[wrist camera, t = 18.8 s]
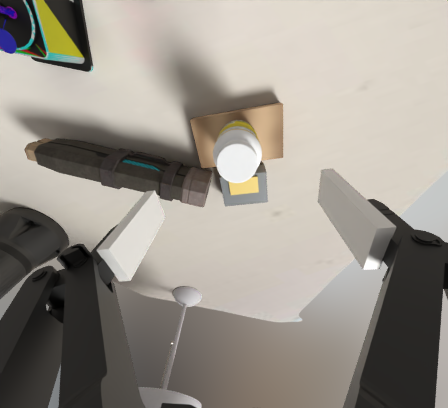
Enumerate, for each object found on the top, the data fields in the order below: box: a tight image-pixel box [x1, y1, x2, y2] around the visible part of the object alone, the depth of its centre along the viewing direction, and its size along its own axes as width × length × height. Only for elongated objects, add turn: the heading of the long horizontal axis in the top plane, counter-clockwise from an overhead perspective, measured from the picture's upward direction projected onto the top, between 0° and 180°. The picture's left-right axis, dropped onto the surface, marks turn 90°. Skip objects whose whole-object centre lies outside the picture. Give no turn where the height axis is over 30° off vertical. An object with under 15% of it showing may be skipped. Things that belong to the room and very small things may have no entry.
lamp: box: [138, 287, 202, 408], centre depth 46 cm, size 17×17×33 cm
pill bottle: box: [213, 120, 262, 183], centre depth 26 cm, size 6×6×11 cm
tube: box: [25, 138, 212, 207], centre depth 33 cm, size 11×7×30 cm
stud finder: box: [220, 164, 268, 206], centre depth 35 cm, size 8×6×4 cm
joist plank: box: [190, 103, 283, 168], centre depth 31 cm, size 14×8×2 cm, turn 100°
